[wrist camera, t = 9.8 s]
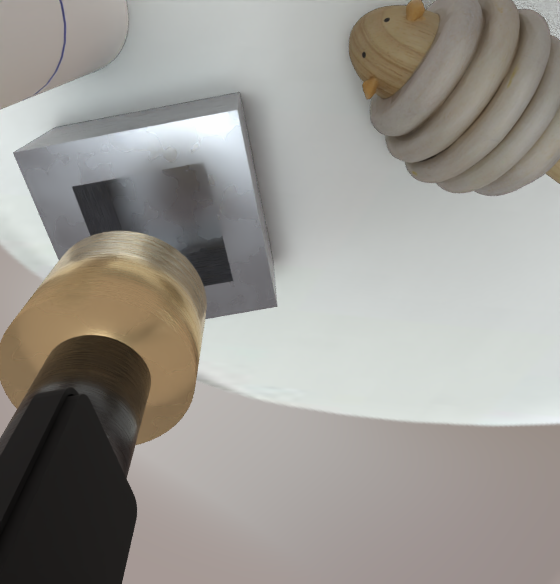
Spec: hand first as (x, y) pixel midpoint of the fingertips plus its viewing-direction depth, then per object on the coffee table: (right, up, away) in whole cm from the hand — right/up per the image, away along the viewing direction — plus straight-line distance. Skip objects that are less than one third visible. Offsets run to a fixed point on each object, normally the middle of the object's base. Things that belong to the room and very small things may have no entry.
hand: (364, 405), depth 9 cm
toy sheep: (+9, +16, +27) cm, 33 cm away
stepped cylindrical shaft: (-9, +1, +16) cm, 18 cm away
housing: (-10, +9, +29) cm, 32 cm away
